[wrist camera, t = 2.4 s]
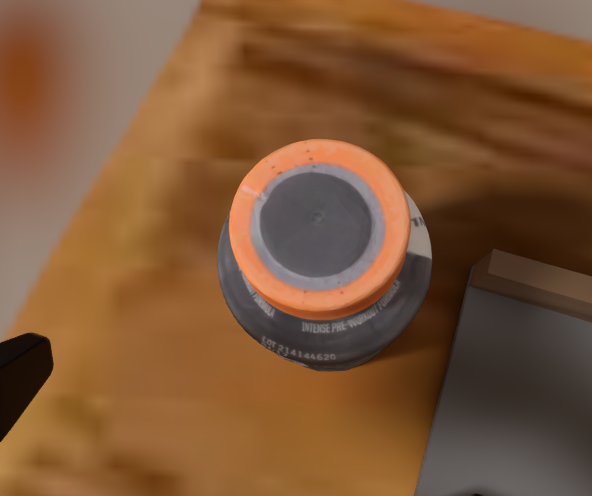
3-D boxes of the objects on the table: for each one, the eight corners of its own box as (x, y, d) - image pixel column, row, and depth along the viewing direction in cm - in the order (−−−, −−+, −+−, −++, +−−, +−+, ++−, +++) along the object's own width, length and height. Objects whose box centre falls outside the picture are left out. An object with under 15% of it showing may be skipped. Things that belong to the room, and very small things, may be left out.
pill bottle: (394, 239, 21) (454, 91, 10) (399, 373, 20) (477, 365, 9) (265, 240, 22) (194, 99, 11) (260, 370, 20) (169, 358, 9)
